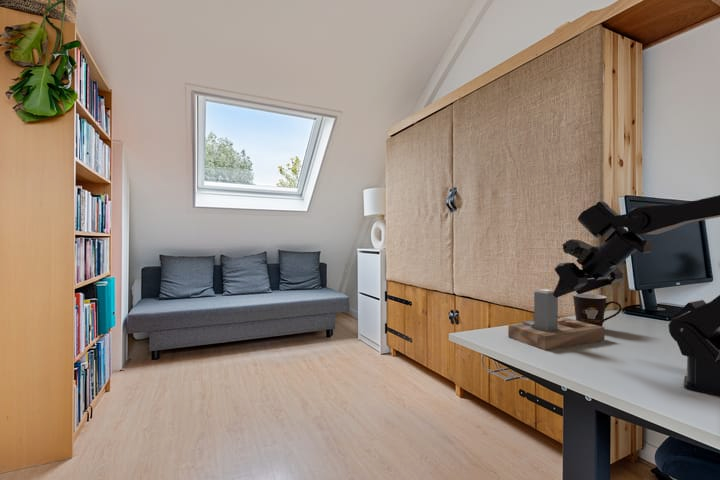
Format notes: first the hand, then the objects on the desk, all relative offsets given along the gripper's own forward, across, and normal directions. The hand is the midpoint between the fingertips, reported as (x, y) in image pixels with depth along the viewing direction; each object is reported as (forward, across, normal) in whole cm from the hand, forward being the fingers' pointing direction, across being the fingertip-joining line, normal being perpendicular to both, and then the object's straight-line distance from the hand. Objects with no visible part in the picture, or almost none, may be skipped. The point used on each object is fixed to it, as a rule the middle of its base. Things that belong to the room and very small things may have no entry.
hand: (566, 294), depth 92 cm
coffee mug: (+15, -24, +5) cm, 28 cm away
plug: (+13, 0, +5) cm, 14 cm away
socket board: (+14, -5, +5) cm, 16 cm away
